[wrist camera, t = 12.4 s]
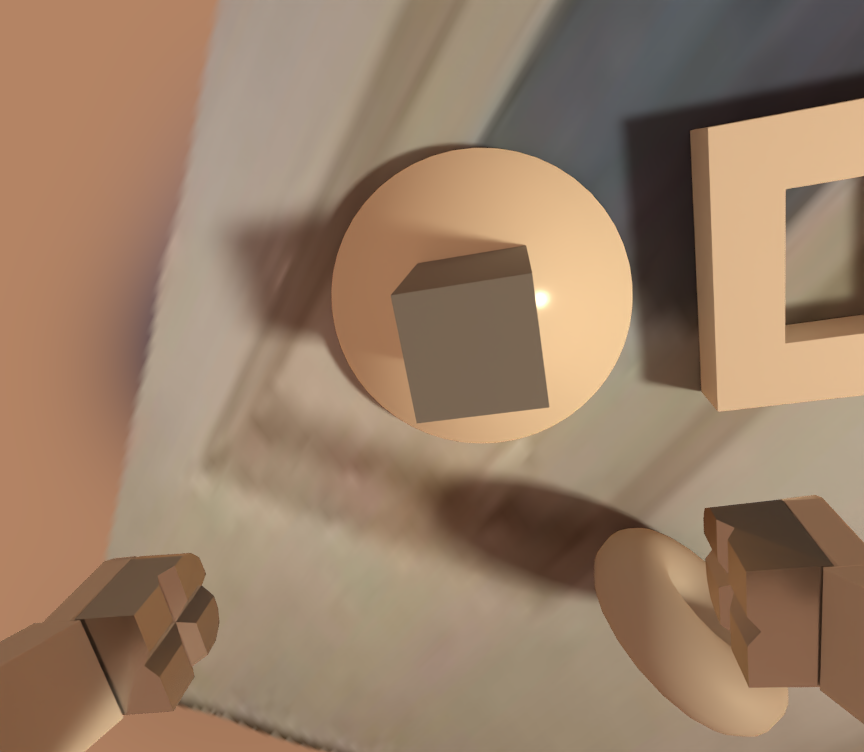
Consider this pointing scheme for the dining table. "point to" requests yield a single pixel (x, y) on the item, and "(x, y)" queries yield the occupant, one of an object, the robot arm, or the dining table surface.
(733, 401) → the pocket collar
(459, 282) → the block
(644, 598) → the donut
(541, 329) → the peach ellipsoid
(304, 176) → the dining table surface
